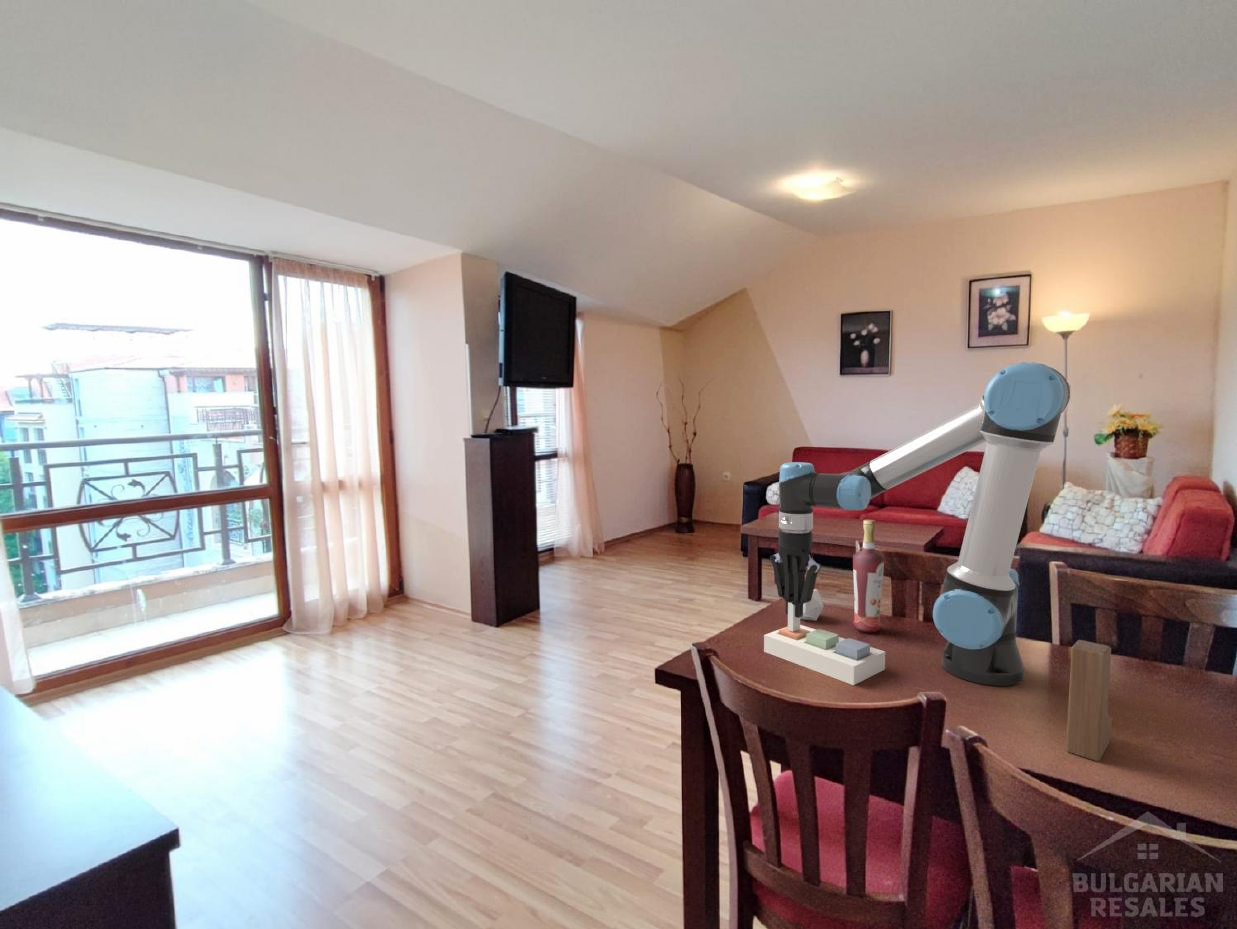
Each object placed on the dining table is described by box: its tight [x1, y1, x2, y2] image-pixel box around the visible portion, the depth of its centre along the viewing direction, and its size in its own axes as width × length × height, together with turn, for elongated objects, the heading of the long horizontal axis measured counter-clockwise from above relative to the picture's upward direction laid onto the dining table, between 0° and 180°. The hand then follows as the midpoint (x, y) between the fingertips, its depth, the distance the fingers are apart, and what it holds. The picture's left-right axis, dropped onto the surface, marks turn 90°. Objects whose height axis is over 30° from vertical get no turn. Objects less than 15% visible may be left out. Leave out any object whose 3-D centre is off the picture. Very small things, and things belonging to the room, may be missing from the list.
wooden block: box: [1065, 639, 1113, 762], centre depth 104 cm, size 9×4×18 cm, turn 133°
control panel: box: [763, 624, 886, 686], centre depth 141 cm, size 23×12×4 cm, turn 38°
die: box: [800, 588, 824, 622], centre depth 169 cm, size 8×9×10 cm
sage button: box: [806, 628, 840, 650], centre depth 141 cm, size 5×5×3 cm
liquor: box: [852, 519, 885, 634], centre depth 159 cm, size 7×7×28 cm
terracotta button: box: [778, 626, 810, 640], centre depth 147 cm, size 5×5×3 cm
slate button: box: [836, 637, 871, 661], centre depth 135 cm, size 5×5×3 cm
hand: (793, 629), depth 147 cm, fingers closed
